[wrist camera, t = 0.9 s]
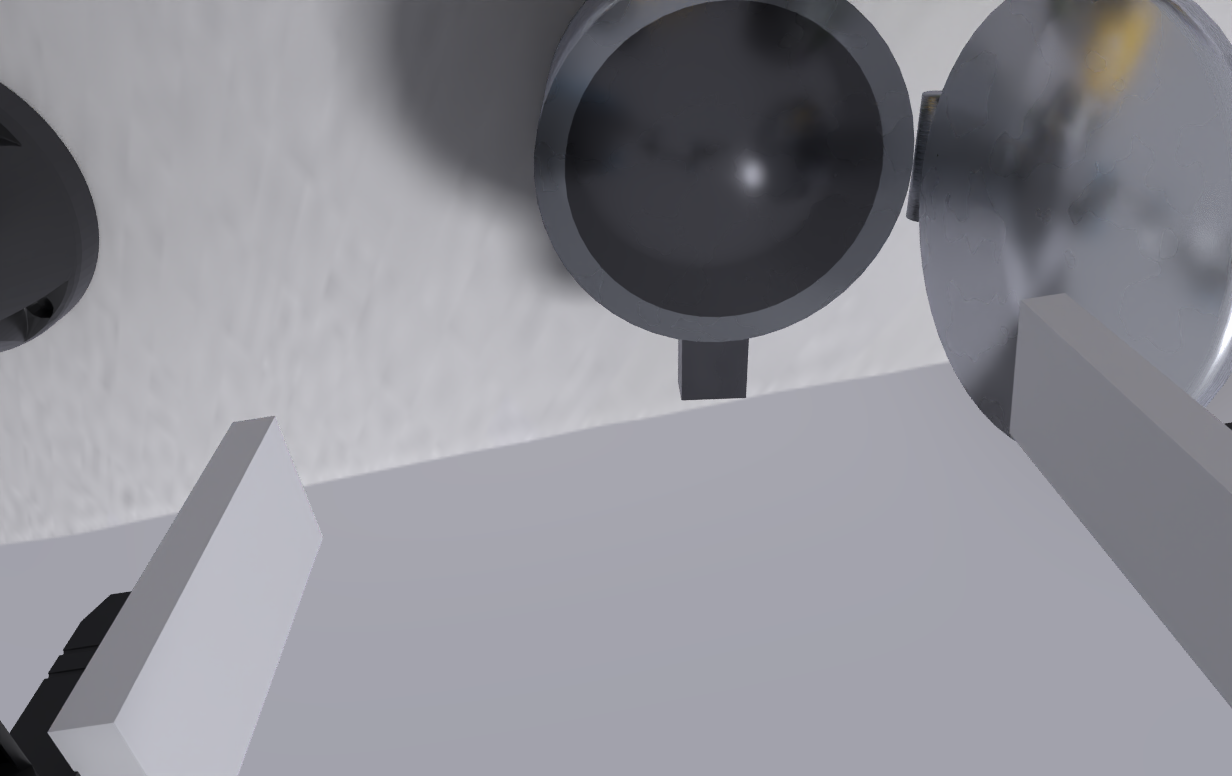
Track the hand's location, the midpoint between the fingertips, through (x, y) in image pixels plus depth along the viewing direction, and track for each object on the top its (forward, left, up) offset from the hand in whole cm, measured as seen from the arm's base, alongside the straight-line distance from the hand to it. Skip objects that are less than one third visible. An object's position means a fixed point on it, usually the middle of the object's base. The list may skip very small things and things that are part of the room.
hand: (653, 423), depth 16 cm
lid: (+13, -2, -14) cm, 19 cm away
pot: (+4, -2, -32) cm, 32 cm away
